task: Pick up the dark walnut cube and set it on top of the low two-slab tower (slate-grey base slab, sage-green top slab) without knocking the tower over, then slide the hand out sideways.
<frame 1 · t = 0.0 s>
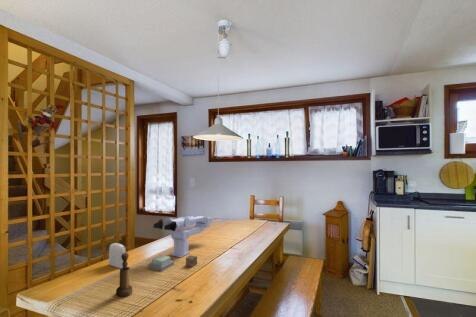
hand: (159, 226, 147), 22 cm above the table, tool horizontal, fingers open, 7 cm apart
tower top slab: (161, 262, 146), point 2 cm above the table, touching tower base slab
photo printer: (116, 266, 145), on the table
walnut cube: (191, 265, 148), on the table
tower base slab: (161, 267, 146), on the table, touching tower top slab
mortar and pestle: (124, 294, 115), on the table
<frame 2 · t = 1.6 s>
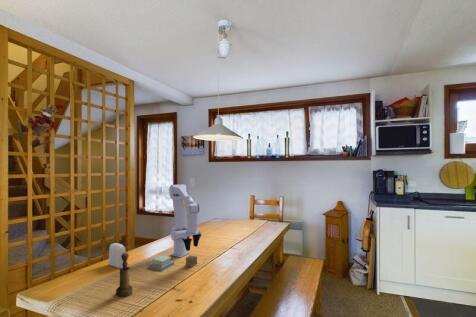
hand: (191, 248, 149), 9 cm above the table, tool pointing down, fingers open, 7 cm apart
nothing on the table moved.
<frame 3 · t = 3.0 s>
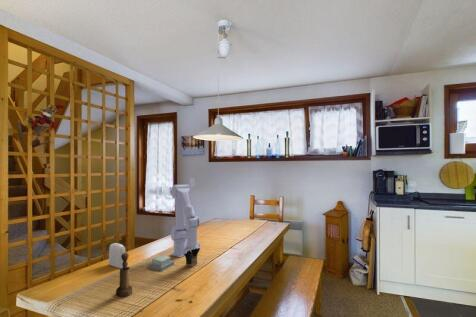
hand: (191, 262, 148), 1 cm above the table, tool pointing down, fingers closed on walnut cube, 4 cm apart
walnut cube: (191, 264, 148), on the table, touching gripper
everything else where it was.
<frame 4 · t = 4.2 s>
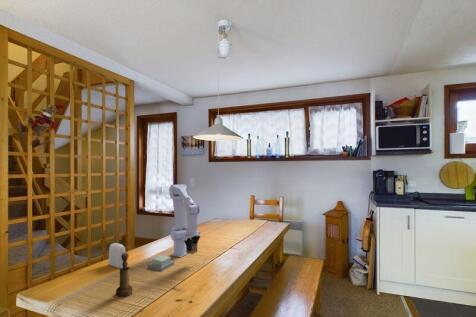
hand: (191, 249, 149), 9 cm above the table, tool pointing down, fingers closed on walnut cube, 4 cm apart
tower top slab: (161, 262, 146), point 2 cm above the table
walnut cube: (191, 252, 149), point 7 cm above the table, touching gripper
tower base slab: (161, 267, 146), on the table
everything else where it was.
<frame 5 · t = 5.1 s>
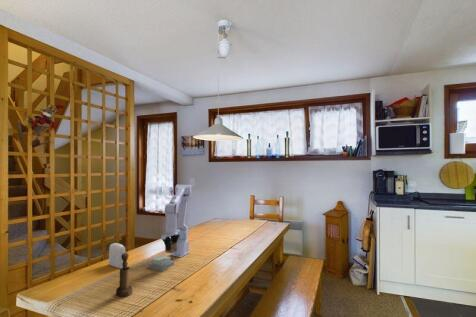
hand: (170, 248, 147), 9 cm above the table, tool pointing down, fingers closed on walnut cube, 4 cm apart
tower top slab: (161, 262, 146), point 2 cm above the table, touching tower base slab
walnut cube: (171, 251, 147), point 8 cm above the table, touching gripper
tower base slab: (161, 267, 146), on the table, touching tower top slab
everything else where it was.
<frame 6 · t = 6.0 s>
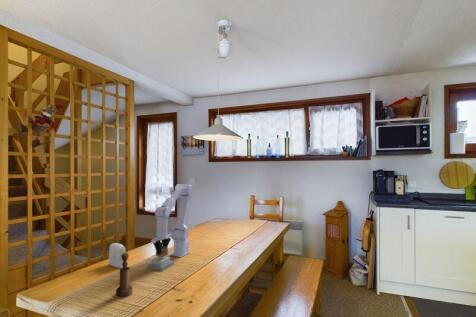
hand: (161, 252, 146), 7 cm above the table, tool pointing down, fingers closed on walnut cube, 4 cm apart
walnut cube: (161, 255, 146), point 6 cm above the table, touching gripper
everything else where it was.
when the fingers open (7 cm above the table, at t = 6.4 s): walnut cube drops 2 cm, point 4 cm above the table.
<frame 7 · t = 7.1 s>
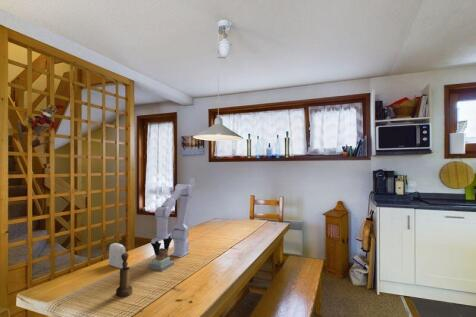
hand: (161, 252, 146), 7 cm above the table, tool pointing down, fingers open, 7 cm apart
walnut cube: (161, 258, 146), point 4 cm above the table
everything else where it was.
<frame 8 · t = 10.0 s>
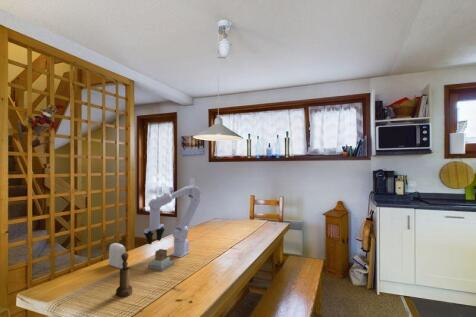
hand: (154, 242, 155), 10 cm above the table, tool pointing down, fingers open, 7 cm apart
tower top slab: (160, 263, 146), point 2 cm above the table, touching tower base slab, walnut cube
walnut cube: (161, 258, 146), point 4 cm above the table, touching tower top slab
everything else where it was.
at the end: walnut cube 0.5 cm off-centre on the tower base slab, point 5.0 cm above the tower base slab's base; tower top slab 0.4 cm off-centre on the tower base slab, point 2.5 cm above the tower base slab's base; walnut cube tilted 0° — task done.
